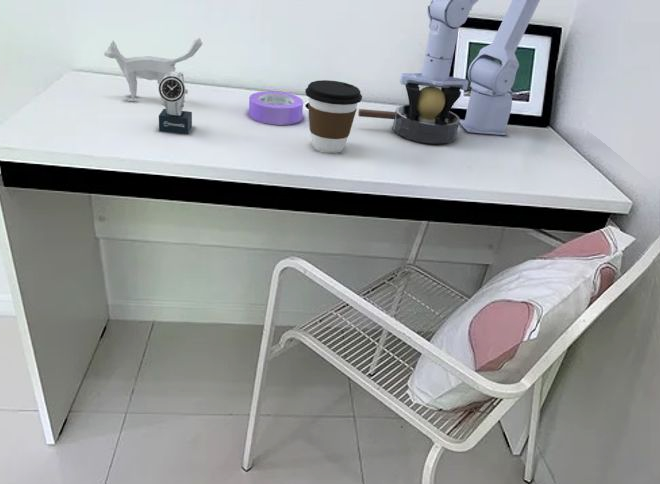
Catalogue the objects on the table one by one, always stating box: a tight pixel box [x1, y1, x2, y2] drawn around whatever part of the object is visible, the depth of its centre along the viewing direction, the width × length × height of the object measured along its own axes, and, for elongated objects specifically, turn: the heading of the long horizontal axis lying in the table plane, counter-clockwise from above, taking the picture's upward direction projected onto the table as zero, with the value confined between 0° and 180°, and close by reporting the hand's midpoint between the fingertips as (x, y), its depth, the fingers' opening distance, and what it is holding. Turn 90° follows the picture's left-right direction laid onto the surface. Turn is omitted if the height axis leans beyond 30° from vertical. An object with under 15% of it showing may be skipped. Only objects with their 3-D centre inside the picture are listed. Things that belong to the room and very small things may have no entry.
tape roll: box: [248, 90, 304, 126], centre depth 139 cm, size 12×12×4 cm
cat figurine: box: [103, 37, 203, 102], centre depth 135 cm, size 4×20×14 cm, turn 97°
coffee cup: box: [304, 79, 363, 154], centre depth 124 cm, size 11×11×12 cm
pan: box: [392, 103, 461, 145], centre depth 141 cm, size 14×14×4 cm
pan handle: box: [357, 108, 396, 120], centre depth 138 cm, size 8×2×2 cm, turn 97°
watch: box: [157, 71, 193, 135], centre depth 123 cm, size 6×8×11 cm
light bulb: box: [417, 86, 445, 124], centre depth 139 cm, size 6×6×10 cm
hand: (426, 119), depth 140 cm, fingers closed on light bulb, 6 cm apart
